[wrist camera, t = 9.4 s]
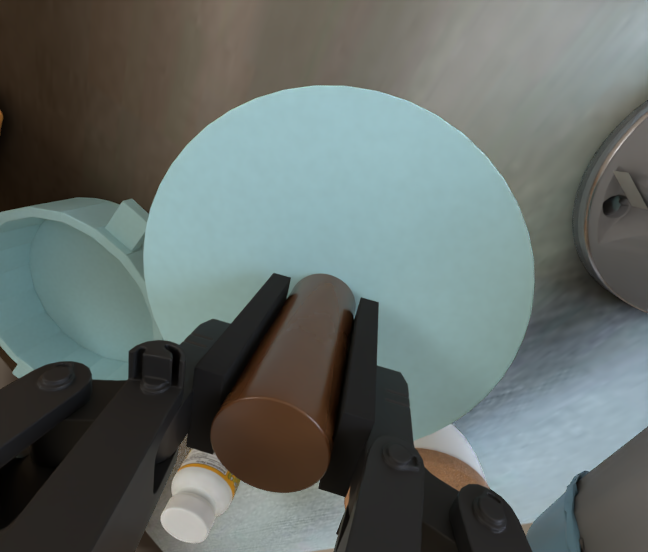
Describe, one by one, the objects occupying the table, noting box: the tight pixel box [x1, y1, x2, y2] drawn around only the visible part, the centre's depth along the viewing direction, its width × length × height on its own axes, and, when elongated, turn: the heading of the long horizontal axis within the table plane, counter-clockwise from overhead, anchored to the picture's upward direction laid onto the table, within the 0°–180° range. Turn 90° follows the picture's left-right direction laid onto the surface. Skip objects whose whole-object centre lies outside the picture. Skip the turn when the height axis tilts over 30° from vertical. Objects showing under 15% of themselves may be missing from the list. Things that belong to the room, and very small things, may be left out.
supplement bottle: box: [161, 448, 240, 543], centre depth 31 cm, size 5×5×10 cm
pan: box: [0, 197, 164, 380], centre depth 29 cm, size 16×22×5 cm
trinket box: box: [344, 424, 490, 510], centre depth 28 cm, size 11×11×9 cm
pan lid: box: [143, 85, 535, 493], centre depth 13 cm, size 18×18×9 cm
